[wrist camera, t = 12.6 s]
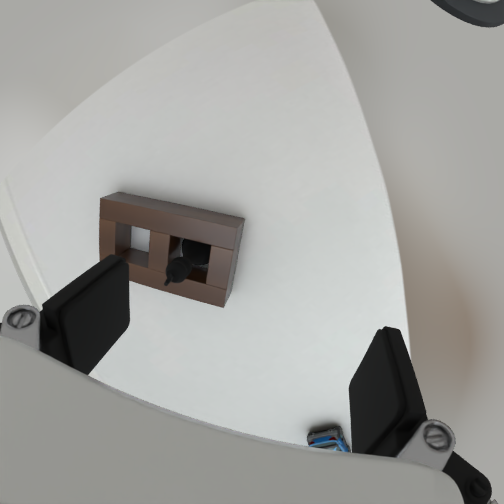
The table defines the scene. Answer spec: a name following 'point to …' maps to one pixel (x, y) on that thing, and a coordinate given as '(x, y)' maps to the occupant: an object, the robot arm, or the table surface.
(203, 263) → the chess piece
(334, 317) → the table surface
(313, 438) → the toy car
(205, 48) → the table surface
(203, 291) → the socket base
